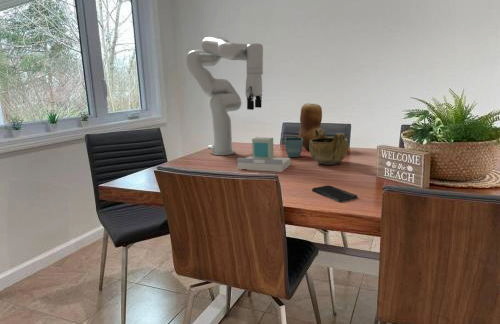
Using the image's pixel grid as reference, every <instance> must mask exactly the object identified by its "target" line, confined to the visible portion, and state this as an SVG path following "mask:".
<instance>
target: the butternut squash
mask: <svg viewBox="0 0 500 324" xmlns="http://www.w3.org/2000/svg"><path fill="white" fill-rule="evenodd" d="M322 109H323V108H322V107H321V105H319V104H318V103H308V102H307V103H305V104H303V105H302V106H301V108H300V116H299V122H300V123H299V124H300V128H299V133H298V136H297V138H302V139H303V144H302V147H304V149H306V150H308V151H310V149H309V143H310V140H311V139H314V138H316V134H315V130H316V129H322V127H321V125H322V124H321V123H322V120H323V119H322V118H323V111H322Z"/></svg>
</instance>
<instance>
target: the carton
mask: <svg viewBox="0 0 500 324" xmlns="http://www.w3.org/2000/svg"><path fill="white" fill-rule="evenodd" d="M251 142H252V143H251V144H252V147H251V148H252V152H251V153H252V156H253V158H254V159H274V156H275V155H274V137H254V138H251Z"/></svg>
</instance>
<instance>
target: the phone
mask: <svg viewBox="0 0 500 324" xmlns="http://www.w3.org/2000/svg"><path fill="white" fill-rule="evenodd" d="M311 192H313V193H316V194H318V195H320V196H322V197H325V198H328V199H330V200H333V201H335V202H337V203H344V202H349V201H353V200H357V199H358V195H356V194H354V193H351V192H348V191H346V190H343V189H341V188H338V187H335V186H332V185H323V186H318V187H312V188H311Z"/></svg>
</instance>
